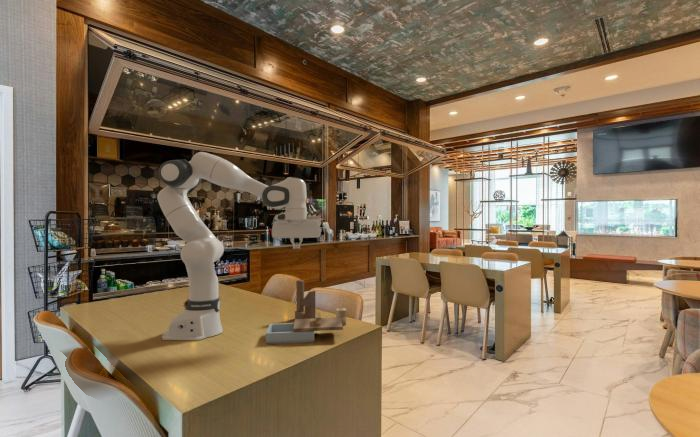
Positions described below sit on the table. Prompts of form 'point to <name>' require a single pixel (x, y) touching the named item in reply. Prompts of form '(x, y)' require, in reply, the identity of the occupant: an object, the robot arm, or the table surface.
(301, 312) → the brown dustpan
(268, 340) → the grey shallow tray
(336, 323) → the lid
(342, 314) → the beige block
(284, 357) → the table surface
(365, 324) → the table surface
